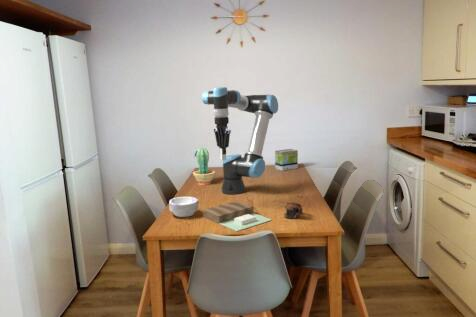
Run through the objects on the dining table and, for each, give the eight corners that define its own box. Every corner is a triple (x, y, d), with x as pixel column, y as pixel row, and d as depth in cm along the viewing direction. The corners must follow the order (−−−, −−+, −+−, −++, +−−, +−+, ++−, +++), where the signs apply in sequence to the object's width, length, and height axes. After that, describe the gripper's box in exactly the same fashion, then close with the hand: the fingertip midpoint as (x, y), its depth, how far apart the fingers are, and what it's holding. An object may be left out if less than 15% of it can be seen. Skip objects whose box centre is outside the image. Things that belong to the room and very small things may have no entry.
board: (237, 207, 218) (237, 200, 217) (253, 213, 207) (253, 206, 206) (203, 217, 205) (203, 209, 204) (219, 223, 194) (218, 216, 193)
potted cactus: (209, 179, 285) (207, 145, 281) (219, 183, 272) (217, 147, 268) (189, 183, 277) (187, 147, 273) (199, 187, 264) (197, 150, 260)
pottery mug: (278, 217, 201) (282, 201, 204) (293, 222, 206) (295, 206, 208) (294, 217, 191) (297, 200, 194) (308, 222, 196) (311, 206, 198)
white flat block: (256, 216, 195) (256, 220, 195) (248, 214, 199) (248, 217, 200) (241, 221, 189) (241, 225, 190) (234, 218, 194) (234, 222, 194)
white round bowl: (204, 213, 210) (203, 199, 208) (181, 221, 200) (180, 206, 198) (187, 208, 221) (186, 194, 219) (164, 215, 211) (163, 200, 209)
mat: (253, 213, 207) (253, 213, 207) (271, 220, 196) (271, 219, 196) (219, 223, 194) (219, 223, 194) (236, 231, 183) (236, 230, 183)
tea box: (282, 171, 303) (281, 152, 300) (274, 169, 312) (274, 150, 309) (298, 168, 310) (297, 149, 307) (290, 166, 319) (290, 148, 316)
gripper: (208, 116, 215) (211, 159, 219) (222, 117, 205) (224, 162, 209) (220, 115, 219) (222, 157, 224) (234, 116, 209) (236, 160, 214)
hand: (223, 159), depth 217 cm, fingers closed
